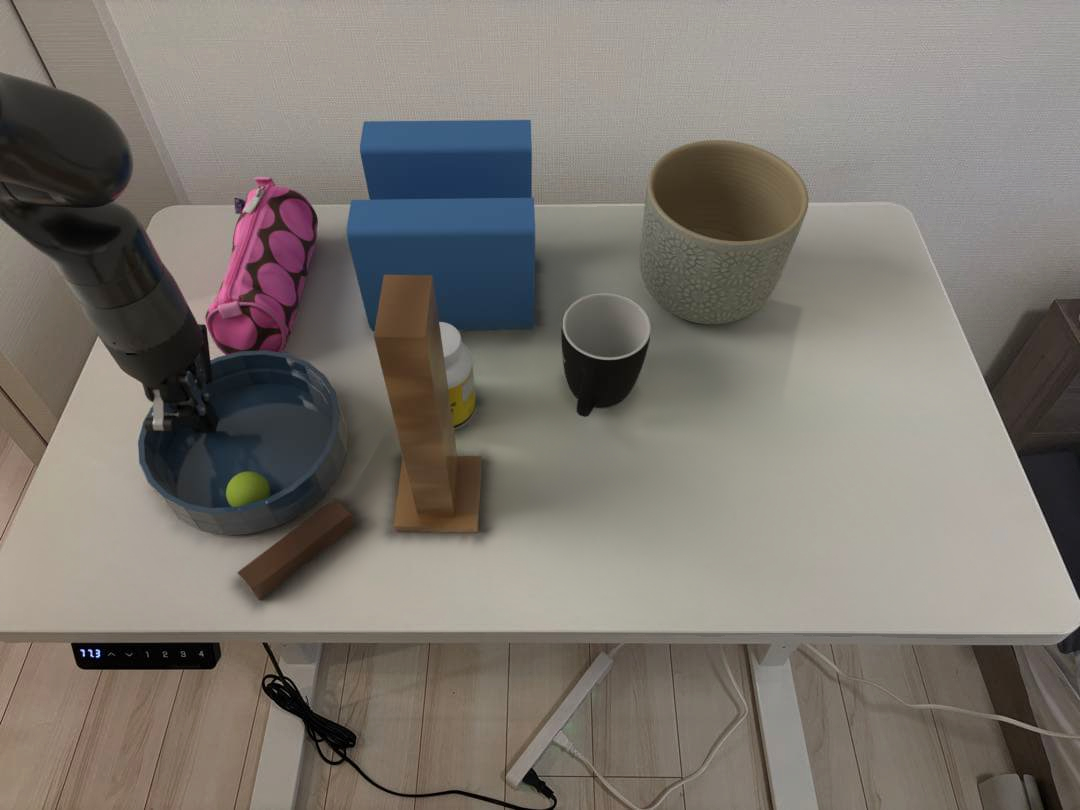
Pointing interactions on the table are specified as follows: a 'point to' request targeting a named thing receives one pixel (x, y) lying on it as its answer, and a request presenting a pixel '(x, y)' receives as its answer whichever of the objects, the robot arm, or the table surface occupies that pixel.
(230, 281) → the pencil case
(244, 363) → the bowl
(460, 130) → the block
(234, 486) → the grape
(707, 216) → the planter
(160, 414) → the robot arm
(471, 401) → the pill bottle
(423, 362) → the stand
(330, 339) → the table surface
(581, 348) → the mug
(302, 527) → the stick
